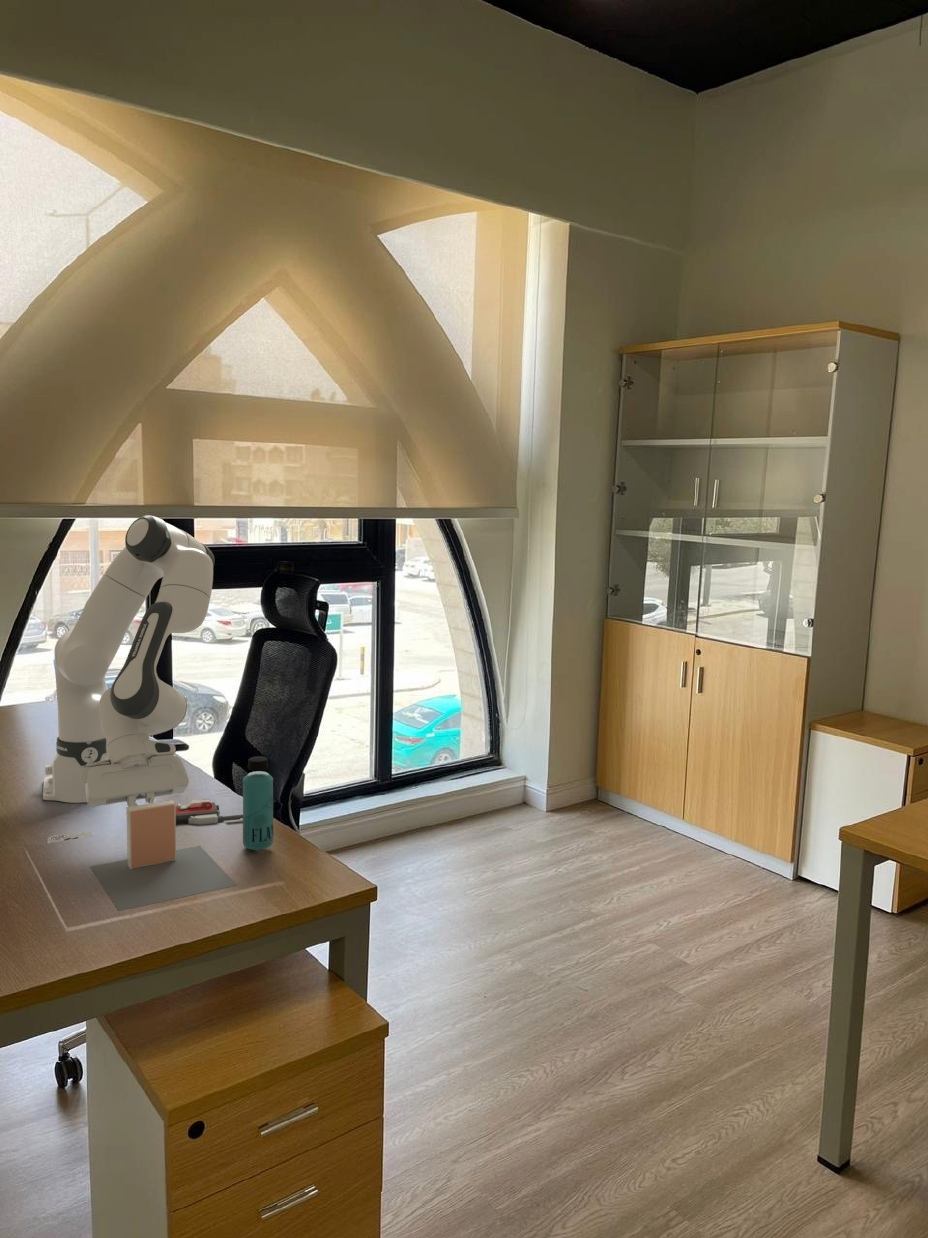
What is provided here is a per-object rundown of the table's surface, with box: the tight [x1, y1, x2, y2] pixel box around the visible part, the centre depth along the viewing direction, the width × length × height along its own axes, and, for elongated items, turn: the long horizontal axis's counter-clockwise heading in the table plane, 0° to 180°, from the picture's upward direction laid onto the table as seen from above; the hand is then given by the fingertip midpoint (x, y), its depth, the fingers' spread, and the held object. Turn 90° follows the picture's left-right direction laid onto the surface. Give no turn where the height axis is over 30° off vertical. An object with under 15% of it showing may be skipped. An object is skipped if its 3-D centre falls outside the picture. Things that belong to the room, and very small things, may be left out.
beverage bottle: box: [242, 755, 275, 850], centre depth 201 cm, size 6×7×20 cm
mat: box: [89, 845, 238, 912], centre depth 187 cm, size 22×22×1 cm
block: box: [125, 799, 177, 869], centre depth 192 cm, size 2×9×12 cm, turn 124°
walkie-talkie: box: [175, 798, 243, 825], centre depth 218 cm, size 9×4×20 cm
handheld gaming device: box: [46, 831, 93, 844], centre depth 201 cm, size 9×1×15 cm
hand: (145, 816), depth 196 cm, fingers closed
